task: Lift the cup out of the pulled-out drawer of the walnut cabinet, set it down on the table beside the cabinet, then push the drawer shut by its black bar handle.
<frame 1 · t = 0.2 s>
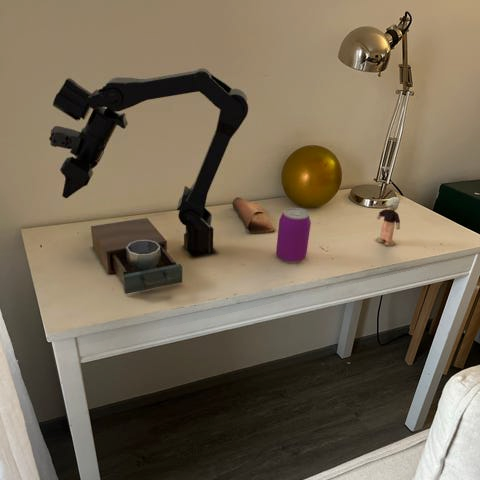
hand: (68, 189, 119), 15 cm above the table, tool tilted 30°, fingers open, 9 cm apart
drawer: (147, 269, 114), point 3 cm above the table, slide at 10.0 cm, touching cup
cup: (144, 270, 115), point 2 cm above the table, touching drawer
beverage can: (290, 257, 128), on the table
sunglasses case: (252, 220, 146), on the table
cabinet: (129, 255, 125), on the table
grandmother figurine: (384, 242, 139), on the table
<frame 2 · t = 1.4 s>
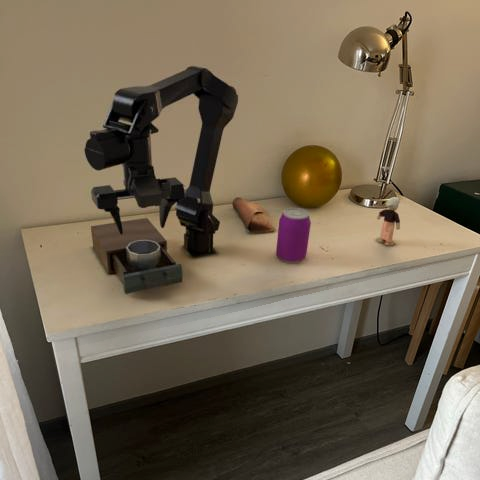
hand: (142, 230, 110), 12 cm above the table, tool pointing down, fingers open, 9 cm apart
nothing on the table moved.
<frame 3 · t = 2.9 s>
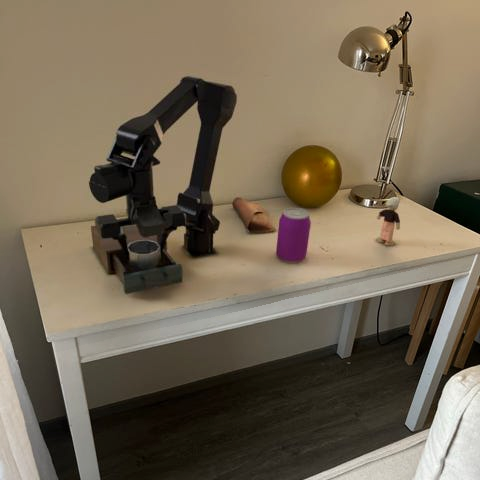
hand: (143, 256, 113), 6 cm above the table, tool pointing down, fingers closed on cup, 7 cm apart
cup: (145, 270, 115), point 2 cm above the table, touching drawer, gripper
everything else where it was.
when the fingers open (4 cm above the table, at t = 8.6 s): cup stays where it is, on the table.
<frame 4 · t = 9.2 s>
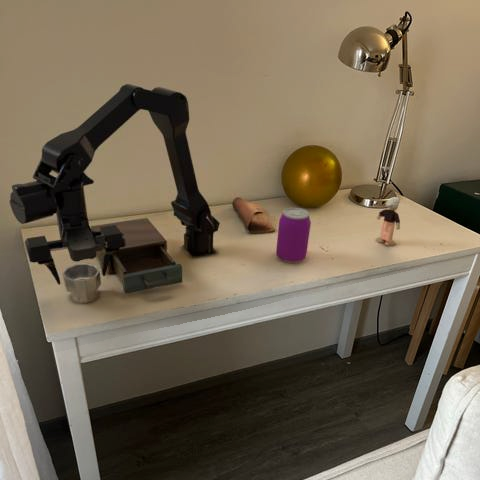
hand: (81, 279, 106), 4 cm above the table, tool pointing down, fingers open, 9 cm apart
drawer: (147, 269, 114), point 3 cm above the table, slide at 10.0 cm
cup: (84, 296, 109), on the table
everything else where it was.
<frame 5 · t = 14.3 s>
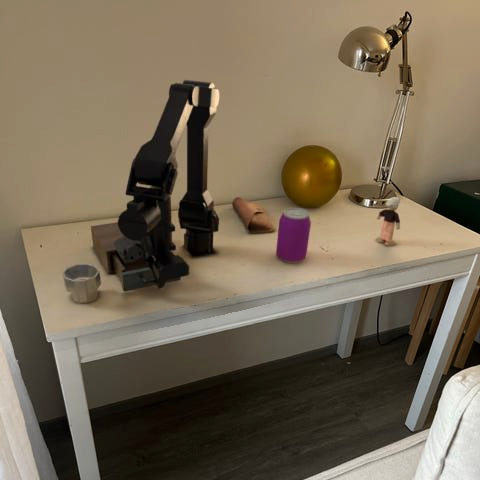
hand: (160, 287, 107), 3 cm above the table, tool pointing down, fingers closed
drawer: (145, 267, 114), point 3 cm above the table, slide at 9.0 cm, touching gripper
everything else where it was.
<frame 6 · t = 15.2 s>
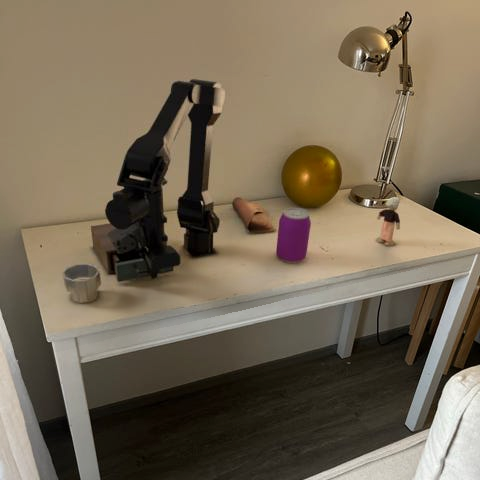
hand: (153, 278, 111), 3 cm above the table, tool pointing down, fingers closed
drawer: (139, 259, 117), point 3 cm above the table, slide at 4.5 cm, touching gripper
everything else where it was.
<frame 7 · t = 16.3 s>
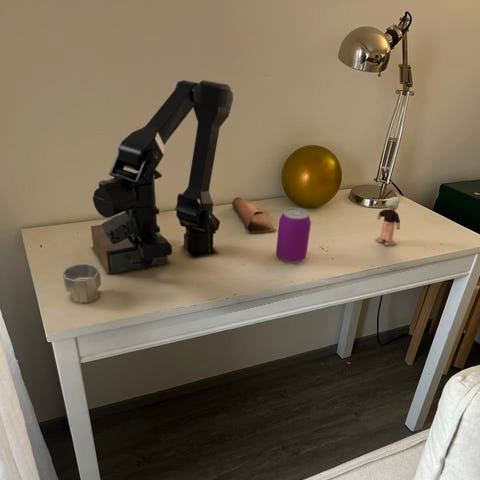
hand: (146, 268, 114), 3 cm above the table, tool pointing down, fingers closed
drawer: (133, 250, 121), point 3 cm above the table, slide at 0.0 cm, touching gripper
everything else where it was.
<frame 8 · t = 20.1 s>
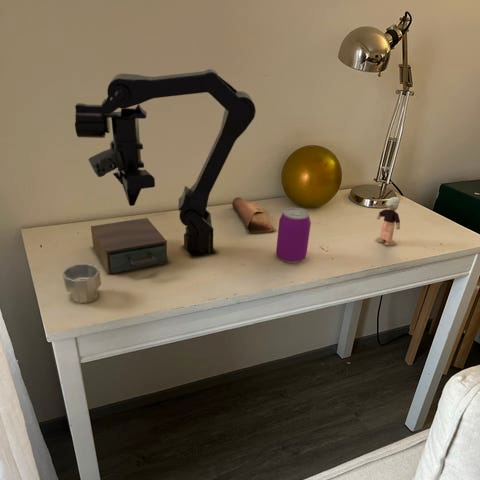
hand: (131, 205, 120), 12 cm above the table, tool pointing down, fingers closed
drawer: (133, 250, 121), point 3 cm above the table, slide at 0.0 cm
everything else where it was.
at the end: cup inside the target area (0.1 cm from its centre), on the table; cup tilted 0°; drawer slide at 0.0 cm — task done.
